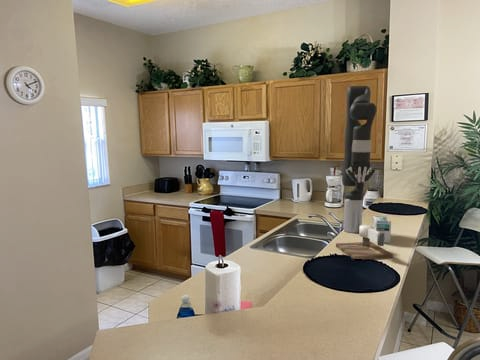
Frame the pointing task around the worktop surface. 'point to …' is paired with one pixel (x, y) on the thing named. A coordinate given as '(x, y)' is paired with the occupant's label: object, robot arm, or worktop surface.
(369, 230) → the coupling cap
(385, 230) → the light bulb box
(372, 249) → the base
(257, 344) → the worktop surface
